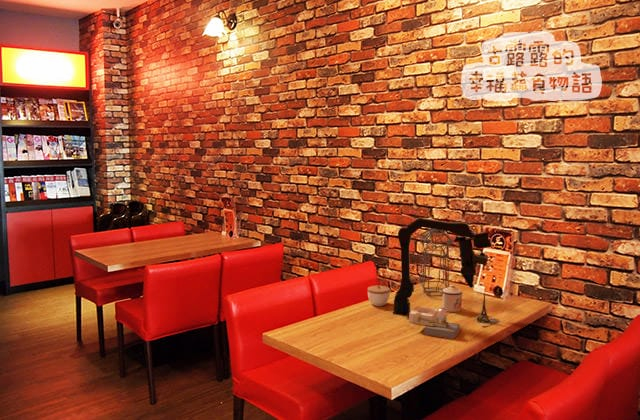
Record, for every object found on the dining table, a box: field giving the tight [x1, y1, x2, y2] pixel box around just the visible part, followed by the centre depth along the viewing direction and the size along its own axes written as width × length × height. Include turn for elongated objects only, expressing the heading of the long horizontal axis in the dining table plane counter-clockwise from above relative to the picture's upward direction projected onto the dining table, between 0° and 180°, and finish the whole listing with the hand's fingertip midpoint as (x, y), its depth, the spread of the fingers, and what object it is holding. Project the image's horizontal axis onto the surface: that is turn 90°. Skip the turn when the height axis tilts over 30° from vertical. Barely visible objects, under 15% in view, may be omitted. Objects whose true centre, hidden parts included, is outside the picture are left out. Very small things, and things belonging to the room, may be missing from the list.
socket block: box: [424, 321, 461, 340], centre depth 221 cm, size 12×10×3 cm
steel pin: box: [437, 307, 448, 328], centre depth 220 cm, size 3×3×10 cm
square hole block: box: [408, 306, 439, 324], centre depth 236 cm, size 10×10×4 cm
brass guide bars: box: [412, 313, 449, 327], centre depth 222 cm, size 14×6×3 cm, turn 64°
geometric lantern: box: [417, 228, 455, 297], centre depth 275 cm, size 16×16×35 cm
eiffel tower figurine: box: [475, 292, 501, 329], centre depth 234 cm, size 15×10×13 cm
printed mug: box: [441, 284, 463, 313], centre depth 252 cm, size 12×9×12 cm
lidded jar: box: [367, 284, 391, 307], centre depth 260 cm, size 11×11×9 cm
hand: (471, 284), depth 238 cm, fingers open, 9 cm apart
